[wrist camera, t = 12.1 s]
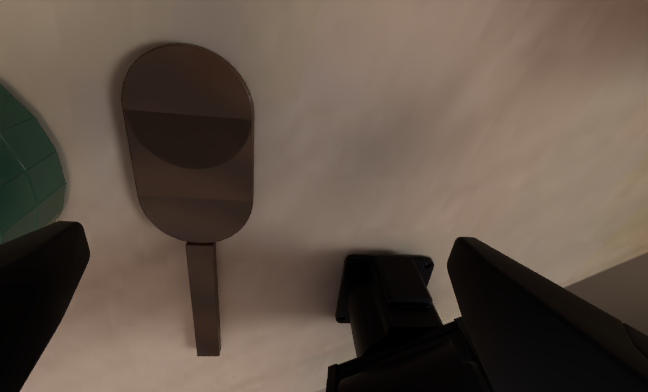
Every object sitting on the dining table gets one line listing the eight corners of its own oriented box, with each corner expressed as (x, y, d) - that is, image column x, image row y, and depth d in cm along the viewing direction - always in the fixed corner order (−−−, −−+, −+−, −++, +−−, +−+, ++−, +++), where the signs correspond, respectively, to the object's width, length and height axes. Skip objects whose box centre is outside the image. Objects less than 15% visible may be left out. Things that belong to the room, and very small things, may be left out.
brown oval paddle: (251, 347, 28) (250, 356, 27) (167, 347, 27) (164, 357, 27) (255, 50, 17) (253, 52, 16) (114, 35, 16) (107, 37, 16)
